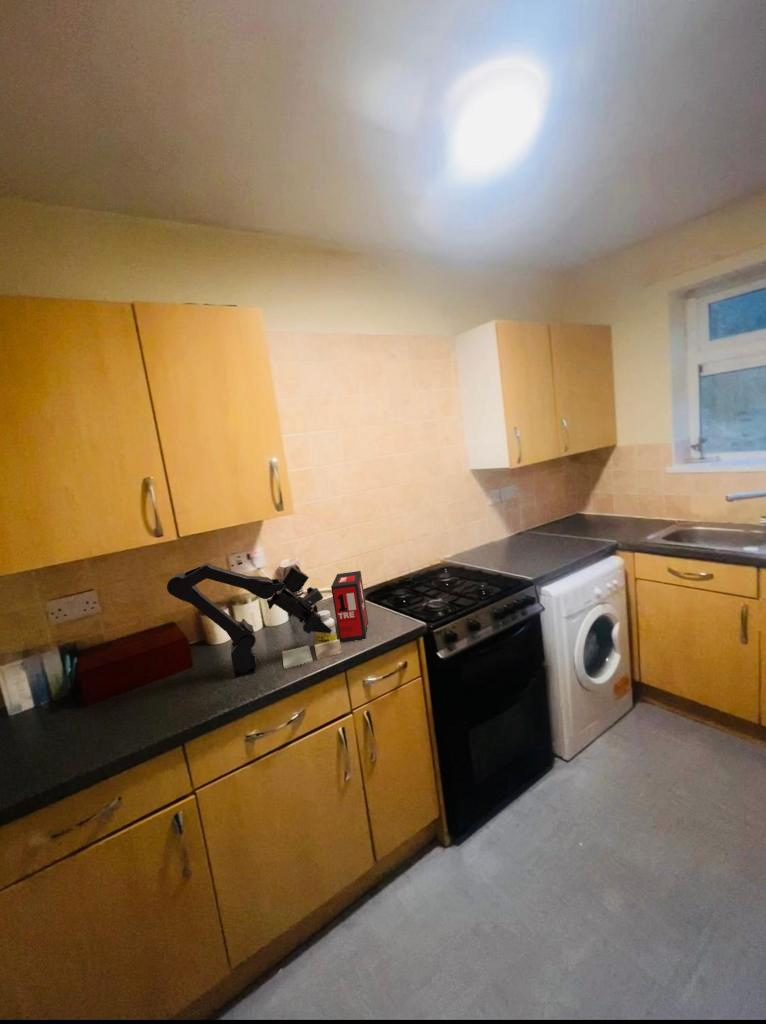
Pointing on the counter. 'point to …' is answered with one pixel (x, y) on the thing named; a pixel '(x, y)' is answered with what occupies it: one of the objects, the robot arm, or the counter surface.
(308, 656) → the sage board
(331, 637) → the supplement bottle
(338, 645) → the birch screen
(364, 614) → the cleaning product box
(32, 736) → the counter surface
